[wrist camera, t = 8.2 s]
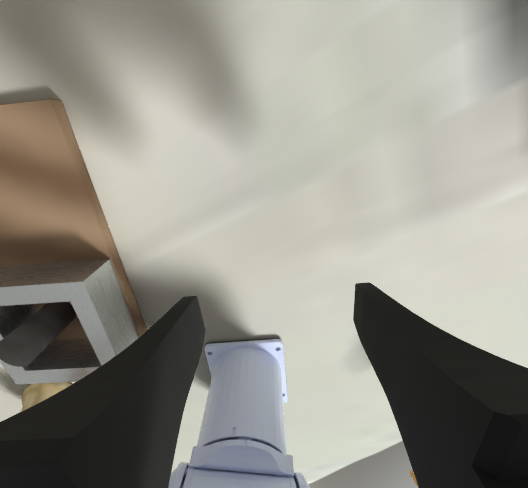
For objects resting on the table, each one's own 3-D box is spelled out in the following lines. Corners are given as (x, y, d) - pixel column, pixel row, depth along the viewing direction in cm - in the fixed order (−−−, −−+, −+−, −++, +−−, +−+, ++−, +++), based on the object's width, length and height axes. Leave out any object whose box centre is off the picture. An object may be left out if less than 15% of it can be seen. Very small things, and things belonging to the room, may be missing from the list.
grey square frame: (143, 347, 26) (126, 378, 22) (46, 352, 26) (16, 384, 23) (110, 258, 21) (83, 281, 18) (-4, 266, 22) (-51, 290, 19)
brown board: (151, 342, 27) (121, 397, 21) (31, 350, 27) (-28, 406, 22) (61, 100, 17) (-32, 88, 12) (-116, 121, 18) (-280, 118, 13)
